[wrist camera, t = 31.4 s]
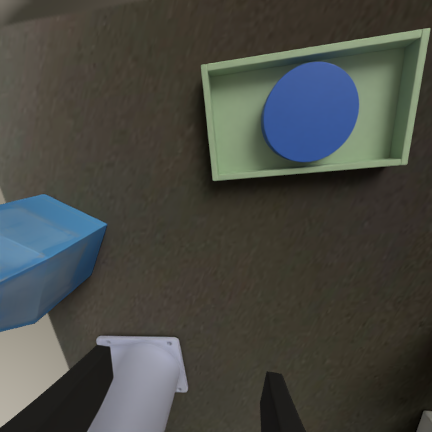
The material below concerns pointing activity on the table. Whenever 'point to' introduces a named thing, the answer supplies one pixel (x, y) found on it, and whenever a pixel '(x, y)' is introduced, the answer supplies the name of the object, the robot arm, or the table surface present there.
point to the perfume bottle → (43, 256)
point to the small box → (425, 422)
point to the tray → (367, 117)
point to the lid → (310, 112)
